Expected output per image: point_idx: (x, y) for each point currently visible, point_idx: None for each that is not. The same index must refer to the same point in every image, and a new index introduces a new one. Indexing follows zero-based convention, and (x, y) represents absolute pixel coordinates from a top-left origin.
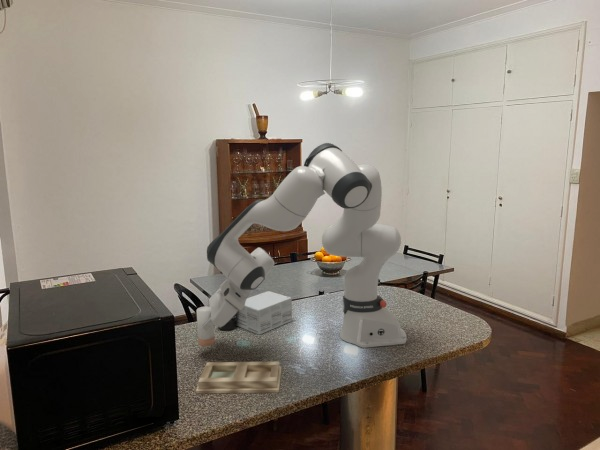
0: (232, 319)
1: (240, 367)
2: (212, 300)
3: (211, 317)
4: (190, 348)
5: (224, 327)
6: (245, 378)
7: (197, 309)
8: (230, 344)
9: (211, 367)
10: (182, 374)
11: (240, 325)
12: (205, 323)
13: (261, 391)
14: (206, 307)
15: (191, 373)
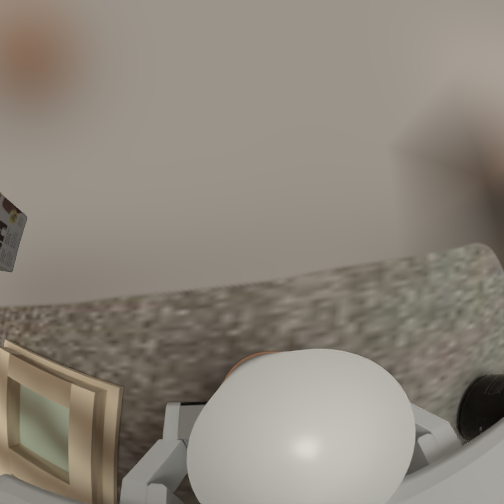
0: None
1: (57, 488)
2: (498, 477)
3: (49, 499)
4: (331, 306)
5: (466, 409)
6: (7, 473)
7: (322, 361)
8: None
9: (57, 402)
10: (108, 298)
11: None
12: (170, 435)
13: None
14: (377, 466)
15: (107, 330)
